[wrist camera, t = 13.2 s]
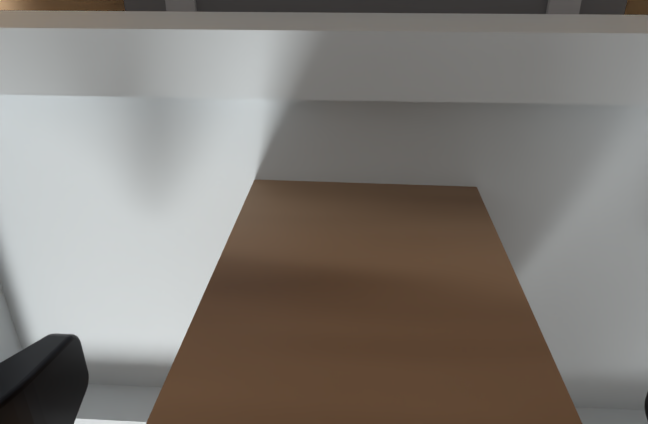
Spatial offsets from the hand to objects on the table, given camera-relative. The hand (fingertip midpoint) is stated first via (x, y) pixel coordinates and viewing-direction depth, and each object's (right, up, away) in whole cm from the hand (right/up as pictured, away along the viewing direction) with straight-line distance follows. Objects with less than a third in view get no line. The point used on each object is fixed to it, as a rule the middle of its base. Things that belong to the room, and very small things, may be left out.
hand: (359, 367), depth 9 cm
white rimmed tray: (0, +3, +5) cm, 6 cm away
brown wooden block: (0, +1, +2) cm, 3 cm away
